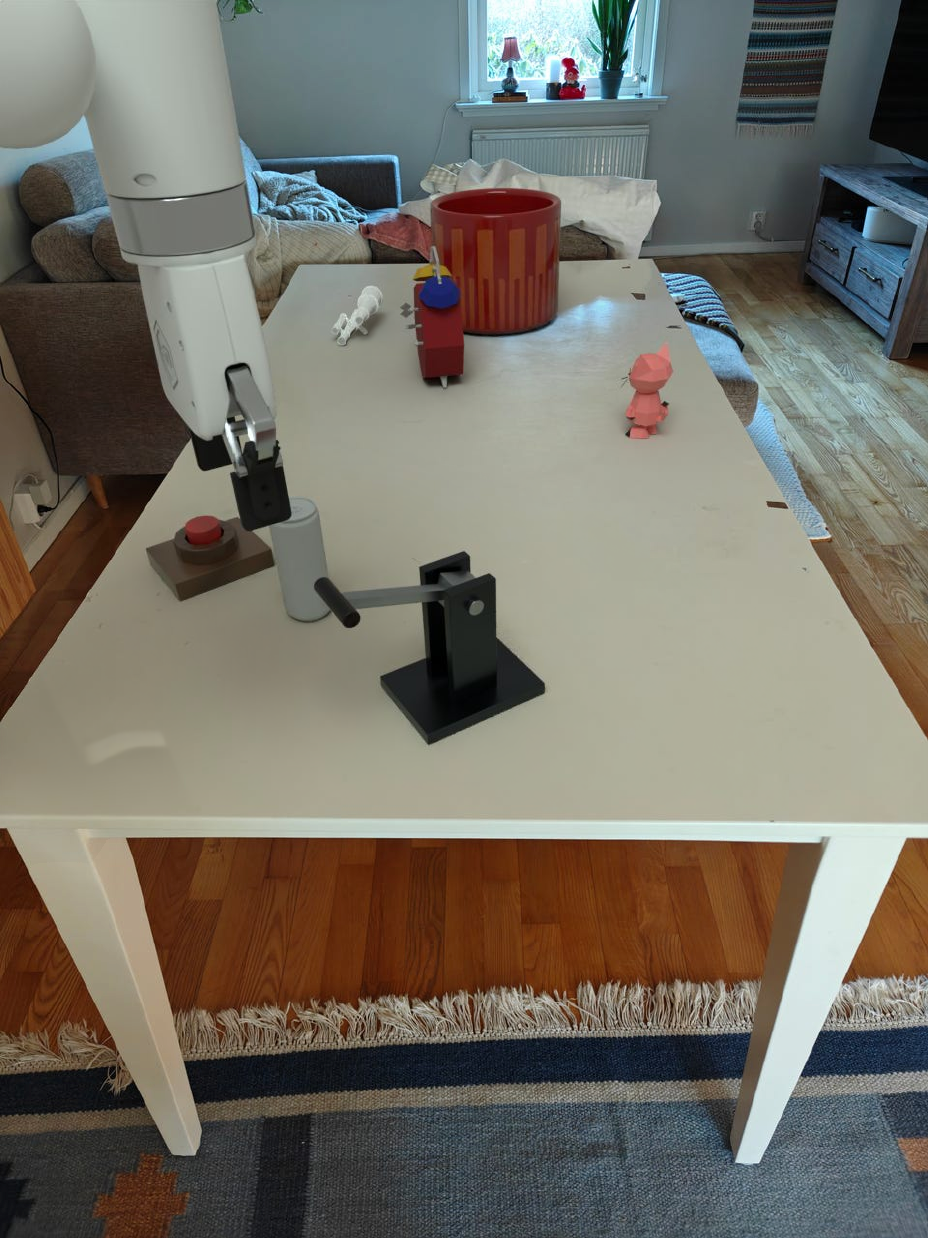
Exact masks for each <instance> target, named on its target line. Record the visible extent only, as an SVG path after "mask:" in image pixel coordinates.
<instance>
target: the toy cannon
mask: <svg viewBox="0 0 928 1238" xmlns="http://www.w3.org/2000/svg"><path fill="white" fill-rule="evenodd" d="M383 300H384V295H383V292H382V290H381V289H380V288H379V287H377V286H376V285H367V286H365V287H364V288H363V289H362V291H361V293H360V295H359V297H358V299H357V308H355V309H353V311H352V313H351V315H350V317H349V318H348V315H347V314H346V313H344V312H342V313H340V315H339V318H338V320H337V321H336V323H335V324H334V325H333V327H332V328H331V334H333V335H338V334H339V333H340V336H339V337H337V344H338V345H339V346H345V345H346V344H347V340H348V339H350V338H351V334H352V332H353V331H354V332H356V331H358V330H359V332H361V333H362V334H363V335H364V336H366V335H367V334H368V332H369V331H368V330H367V329H366V328H365V327H364V326H363V325H362V324H363V323H364V322H365V321H367V320H369V318H370V316H372V315H373V316H374V315H375V314H376V313H377V312H378V310H379V307H380V306H381V304H382V303H383V302H384V301H383ZM344 323H346V325H345V327H344V329H343V328H342V327H343V325H344Z"/></svg>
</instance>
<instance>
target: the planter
mask: <svg viewBox="0 0 928 1238" xmlns="http://www.w3.org/2000/svg"><path fill="white" fill-rule="evenodd" d="M429 214H430V234H431V235H430V238H431V239H430V241H431V247H433V246H435V247H436V251H437V255H438V259H439V265H442V266H445V267H446V268H447V269H448V271H449V272H450V274H451V275H452V276H453V277H451V278H450V279H451V281H455V282H456V286H457V288H458V289H459V290H460V292H461V294H460V296H459V299H460V304H461V312H462V324H463V333H467V334H471V335H478V336H479V335H481V336H506V335H514V334H522V333H527V332H529V331H534V330H536V329H539V328H541V327H542V326H545V325H547V324H549V323H550V322H551V321H552V320H553V319H554V318H555V317H556V316H557V314H558V309H559V288H560V287H559V285H560V260H561V259H560V257H561V256H560V255H561V227H562V226H561V225H562V224H561V222H562V200H561V198H560V197H559V196H557V195H556V194H553V193H551V192H548V191H543V190H538V189H531V188H521V187H520V188H517V187H488V188H475V189H467V190H459V191H455V192H450V193H446V194H443V195H440V196H437V197H436V198H434V199H432V201H431V202H430V203H429ZM433 264H436V258H435V254H434V251H433Z"/></svg>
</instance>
